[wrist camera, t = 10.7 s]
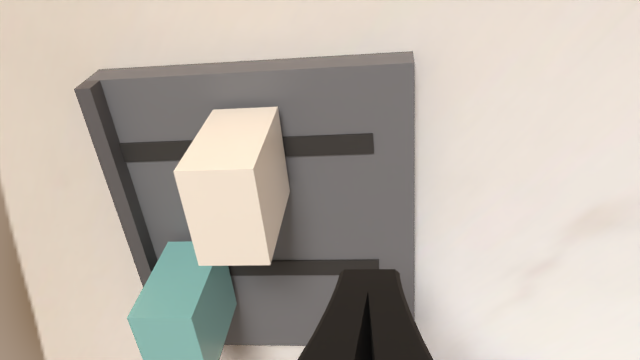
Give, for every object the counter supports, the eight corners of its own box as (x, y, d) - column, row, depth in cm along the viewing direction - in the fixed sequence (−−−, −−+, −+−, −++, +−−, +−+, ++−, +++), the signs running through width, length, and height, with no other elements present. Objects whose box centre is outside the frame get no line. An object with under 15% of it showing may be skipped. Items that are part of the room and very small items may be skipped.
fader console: (412, 327, 26) (415, 360, 25) (180, 326, 28) (167, 356, 26) (412, 51, 19) (415, 71, 18) (98, 69, 21) (74, 89, 19)
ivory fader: (289, 191, 21) (270, 265, 17) (230, 192, 21) (198, 265, 18) (277, 106, 19) (253, 168, 15) (212, 109, 19) (172, 171, 16)
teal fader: (236, 303, 24) (211, 384, 21) (186, 303, 25) (152, 383, 21) (222, 241, 23) (191, 318, 19) (168, 241, 23) (127, 317, 19)
